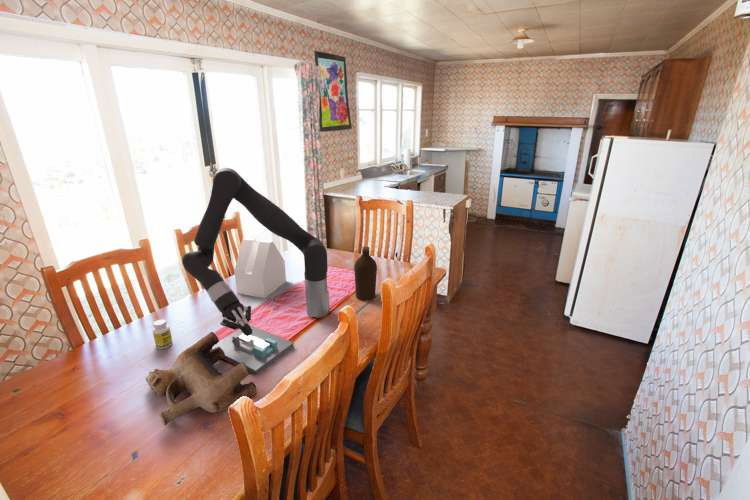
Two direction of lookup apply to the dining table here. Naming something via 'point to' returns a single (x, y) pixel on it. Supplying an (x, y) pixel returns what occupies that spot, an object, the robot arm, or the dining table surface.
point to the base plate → (254, 349)
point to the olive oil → (365, 276)
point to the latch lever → (254, 341)
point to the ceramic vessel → (200, 381)
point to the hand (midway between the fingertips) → (250, 334)
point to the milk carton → (259, 268)
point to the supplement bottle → (162, 334)
